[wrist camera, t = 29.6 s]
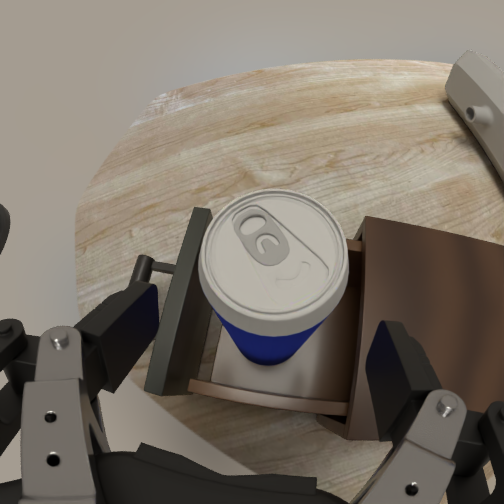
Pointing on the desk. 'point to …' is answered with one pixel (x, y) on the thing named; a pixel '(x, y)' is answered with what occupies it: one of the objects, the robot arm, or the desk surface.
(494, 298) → the cabinet
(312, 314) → the beverage can
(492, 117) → the tank
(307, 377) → the drawer
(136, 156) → the desk surface
